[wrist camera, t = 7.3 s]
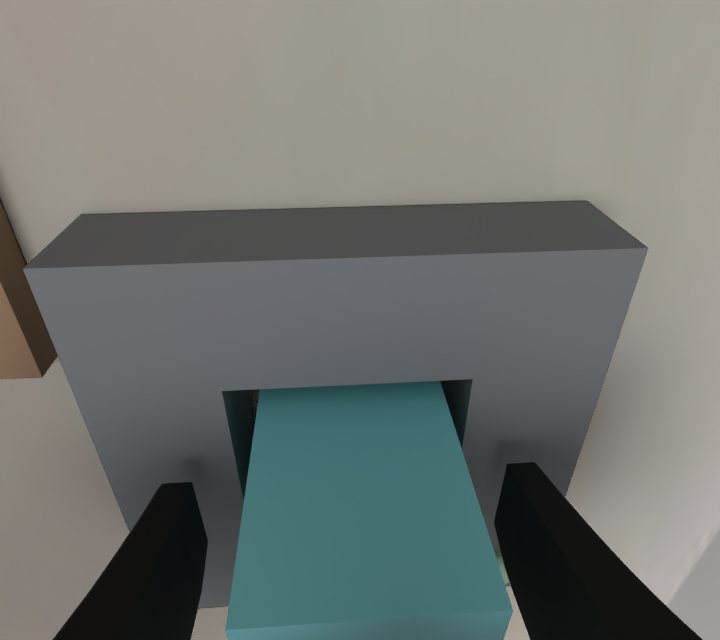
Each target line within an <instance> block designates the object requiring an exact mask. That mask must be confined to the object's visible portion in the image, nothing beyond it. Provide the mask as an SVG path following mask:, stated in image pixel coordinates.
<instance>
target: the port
mask: <svg viewBox="0 0 720 640" xmlns="http://www.w3.org/2000/svg"><path fill="white" fill-rule="evenodd" d="M647 250H648V247H646V246H645V245H644V244H642V243H641V242H640V241H639V240H637V239H636V238H635V237H633V236H632V235H631V234H629V233H628V232H627V231H626V230H624V229H623V228H622V227H620V226H619V225H618V224H616V223H615V222H614V221H613V220H611V219H610V218H609V217H607V216H606V215H605V214H603V213H602V212H601V211H600V210H598V209H597V208H596V207H594V206H593V205H592V204H591V203H589V202H588V201H563V202H526V203H490V204H453V205H416V206H380V207H343V208H307V209H270V210H233V211H197V212H160V213H124V214H87V215H80V216H79V217H77V218H76V219H75V220H74V221H73V222H72V223H71V224H70V225H69V226H68V227H67V228H66V229H65V230H64V231H63V232H61V233H60V234H59V235H58V236H57V237H56V238H55V239H54V240H53V241H52V242H51V243H50V244H49V245H48V246H47V247H45V248H44V249H43V250H42V251H41V252H40V253H39V254H38V255H37V256H36V257H35V258H34V259H33V260H32V261H31V262H29V263H28V264H27V265H26V266H25V267H24V268H23V271H24V273H25V276H26V278H27V281H28V283H29V285H30V288H31V290H32V293H33V295H34V298H35V300H36V303H37V305H38V308H39V310H40V313H41V315H42V317H43V320H44V322H45V325H46V327H47V330H48V332H49V335H50V337H51V340H52V342H53V345H54V347H55V349H56V352H57V354H58V357H59V359H60V362H61V364H62V367H63V369H64V372H65V374H66V376H67V379H68V381H69V384H70V386H71V389H72V391H73V394H74V396H75V399H76V401H77V404H78V406H79V408H80V411H81V413H82V416H83V418H84V421H85V423H86V426H87V428H88V431H89V433H90V436H91V438H92V440H93V443H94V445H95V448H96V450H97V453H98V455H99V458H100V460H101V463H102V465H103V468H104V470H105V472H106V475H107V477H108V480H109V482H110V485H111V487H112V490H113V492H114V495H115V497H116V500H117V502H118V504H119V507H120V509H121V512H122V514H123V517H124V519H125V522H126V524H127V527H128V529H129V531H130V532H131V530H132V529H133V527H134V526H135V524H136V523H137V521H138V519H139V518H140V516H141V515H142V513H143V512H144V510H145V508H146V507H147V505H148V504H149V502H150V500H151V499H152V497H153V496H154V494H155V492H156V491H157V489H158V487H160V486H161V485H162V484H164V483H181V482H192V484H193V487H194V491H195V495H196V498H197V502H198V506H199V509H200V513H201V517H202V520H203V524H204V528H205V531H206V535H207V539H208V546H207V554H206V563H205V571H204V578H203V585H202V592H201V596H200V601H199V605H198V609H199V608H213V607H227V606H229V602H230V595H231V588H232V581H233V574H234V567H235V560H236V553H237V546H238V539H239V532H240V525H241V518H242V511H243V504H244V497H245V490H246V483H247V476H248V469H249V462H250V455H251V448H252V441H253V434H254V422H253V416H252V410H251V403H250V397H249V391H248V390H256V389H277V388H298V387H318V386H339V385H360V384H381V383H402V382H423V381H440V382H441V385H442V389H443V392H444V395H445V398H446V401H447V404H448V407H449V411H450V414H451V417H452V420H453V423H454V426H455V430H456V433H457V436H458V439H459V442H460V445H461V448H462V452H463V455H464V458H465V461H466V464H467V467H468V471H469V474H470V477H471V480H472V483H473V486H474V489H475V493H476V496H477V499H478V502H479V505H480V508H481V512H482V515H483V518H484V521H485V524H486V527H487V530H488V534H489V537H490V540H491V543H492V546H493V549H494V552H495V556H496V559H497V562H498V565H499V568H500V571H501V575H502V578H503V581H504V584H505V586H511V584H510V582H509V579H508V576H507V573H506V570H505V566H504V562H503V558H502V555H501V551H500V547H499V542H498V538H497V534H496V529H495V525H494V519H495V515H496V510H497V506H498V502H499V497H500V493H501V488H502V484H503V480H504V475H505V471H506V466H507V464H510V463H527V462H535V463H536V464H537V465H538V466H539V467H540V468H541V470H542V471H543V472H544V473H545V474H546V476H547V477H548V478H549V479H550V480H551V482H552V483H553V484H554V485H555V486H556V488H557V489H558V490H559V491H560V492H561V494H562V495H563V496H564V497H565V496H566V493H567V490H568V487H569V484H570V481H571V478H572V475H573V472H574V469H575V466H576V463H577V460H578V457H579V454H580V451H581V448H582V445H583V442H584V439H585V436H586V433H587V430H588V427H589V424H590V421H591V418H592V415H593V412H594V409H595V406H596V403H597V400H598V397H599V394H600V391H601V388H602V385H603V382H604V379H605V376H606V373H607V370H608V367H609V364H610V361H611V358H612V355H613V352H614V349H615V346H616V343H617V340H618V337H619V334H620V331H621V328H622V325H623V322H624V319H625V316H626V313H627V310H628V307H629V304H630V301H631V298H632V295H633V292H634V289H635V286H636V283H637V280H638V277H639V274H640V271H641V268H642V265H643V262H644V259H645V256H646V253H647Z"/></svg>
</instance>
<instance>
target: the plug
mask: <svg viewBox="0 0 720 640" xmlns="http://www.w3.org/2000/svg"><path fill="white" fill-rule="evenodd" d="M512 612H513V609H512V606H511V603H510V600H509V597H508V593H507V590H506V587H505V584H504V581H503V578H502V575H501V571H500V568H499V565H498V562H497V559H496V556H495V552H494V549H493V546H492V543H491V540H490V537H489V534H488V530H487V527H486V524H485V521H484V518H483V515H482V512H481V508H480V505H479V502H478V499H477V496H476V493H475V489H474V486H473V483H472V480H471V477H470V474H469V471H468V467H467V464H466V461H465V458H464V455H463V452H462V448H461V445H460V442H459V439H458V436H457V433H456V430H455V426H454V423H453V420H452V417H451V414H450V411H449V407H448V404H447V401H446V398H445V395H444V392H443V389H442V385H441V382H440V381H423V382H402V383H381V384H360V385H339V386H318V387H298V388H277V389H260V392H259V399H258V406H257V413H256V420H255V427H254V434H253V441H252V448H251V455H250V462H249V469H248V476H247V483H246V490H245V497H244V504H243V511H242V518H241V525H240V532H239V539H238V546H237V553H236V560H235V567H234V574H233V581H232V588H231V595H230V602H229V609H228V616H227V623H226V634H227V638H228V640H503V639H504V636H505V633H506V630H507V627H508V624H509V621H510V618H511V615H512Z"/></svg>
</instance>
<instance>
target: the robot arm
mask: <svg viewBox="0 0 720 640" xmlns="http://www.w3.org/2000/svg"><path fill="white" fill-rule="evenodd" d="M494 525H495V529H496V534H497V538H498V542H499V547H500V551H501V555H502V558H503V562H504V566H505V570H506V573H507V576H508V579H509V582H510V584H511V587H512V590H513V593H514V596H515V598H516V601H517V604H518V607H519V609H520V612H521V615H522V618H523V620H524V623H525V626H526V629H527V631H528V634H529V637H530V640H702V639H701V638H700V637H699V636H698V635H697V634H696V633H695V632H694V631H692V630H691V629H690V628H689V627H688V626H687V625H686V624H685V623H683V621H681V620H680V619H679V618H678V617H677V616H676V615H675V614H674V613H673V612H672V611H671V610H670V609H669V608H668V607H667V606H666V605H665V604H664V603H663V602H662V601H661V600H659V599H658V598H657V597H656V596H655V595H654V594H653V593H652V592H651V591H650V590H649V589H648V588H647V587H646V586H645V585H644V584H643V583H642V582H641V581H640V580H639V579H638V578H637V577H636V576H635V574H634V573H633V572H632V571H631V570H630V569H629V568H628V567H627V566H626V565H625V564H624V563H623V562H622V561H621V560H620V559H619V558H618V557H617V556H616V554H615V553H614V552H613V551H612V550H611V549H610V548H609V547H608V546H607V545H606V544H605V542H604V541H603V540H602V539H601V538H600V537H599V536H598V535H597V534H596V533H595V532H594V530H593V529H592V528H591V527H590V526H589V525H588V524H587V523H586V521H585V520H584V519H583V518H582V517H581V516H580V515H579V513H578V512H577V511H576V510H575V509H574V508H573V506H572V505H571V504H570V503H569V502H568V501H567V499H566V498H565V497H564V496H563V495H562V494H561V492H560V491H559V490H558V489H557V488H556V486H555V485H554V484H553V483H552V482H551V480H550V479H549V478H548V477H547V476H546V474H545V473H544V472H543V471H542V470H541V468H540V467H539V466H538V465H537V464H536V463H535V462H527V463H510V464H507V466H506V471H505V475H504V480H503V484H502V488H501V493H500V497H499V502H498V506H497V510H496V515H495V519H494ZM207 546H208V539H207V535H206V531H205V528H204V524H203V520H202V517H201V513H200V509H199V506H198V502H197V498H196V495H195V491H194V487H193V484H192V482H181V483H164V484H162V485H161V486H160V487H158V489H157V491H156V492H155V494H154V496H153V497H152V499H151V500H150V502H149V504H148V505H147V507H146V508H145V510H144V512H143V513H142V515H141V516H140V518H139V519H138V521H137V523H136V524H135V526H134V527H133V529H132V530H131V532H130V533H129V535H128V536H127V538H126V539H125V541H124V542H123V544H122V545H121V547H120V548H119V550H118V551H117V553H116V554H115V556H114V557H113V558H112V560H111V561H110V563H109V564H108V566H107V567H106V568H105V570H104V571H103V573H102V574H101V576H100V577H99V579H98V580H97V581H96V583H95V584H94V586H93V587H92V588H91V590H90V591H89V593H88V594H87V595H86V597H85V598H84V599H83V601H82V602H81V603H80V605H79V606H78V607H77V608H76V610H75V611H74V612H73V614H72V615H71V616H70V618H69V619H68V620H67V622H66V623H65V624H64V626H63V627H62V628H61V629H60V631H59V632H58V633H57V635H56V636H55V637H54V639H53V640H190V639H191V635H192V631H193V627H194V622H195V618H196V614H197V609H198V605H199V601H200V596H201V592H202V585H203V578H204V571H205V563H206V554H207Z"/></svg>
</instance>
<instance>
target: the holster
mask: <svg viewBox="0 0 720 640" xmlns="http://www.w3.org/2000/svg"><path fill="white" fill-rule="evenodd" d="M25 266H26V264H25V261H24V259H23V256H22V254H21V251H20V249H19V246H18V244H17V241H16V239H15V236H14V234H13V231H12V229H11V226H10V224H9V221H8V219H7V216H6V214H5V211H4V209H3V206H2V204H1V201H0V379H16V378H39V377H43V376H44V374H45V373H46V371H47V370H48V369H49V367H50V366H51V364H52V363H53V362H54V360H55V359H56V357H57V356H58V354H57V352H56V349H55V347H54V345H53V342H52V340H51V337H50V335H49V332H48V330H47V327H46V325H45V322H44V320H43V317H42V315H41V313H40V310H39V308H38V305H37V303H36V300H35V298H34V295H33V293H32V290H31V288H30V285H29V283H28V281H27V278H26V276H25V273H24V271H23V268H24V267H25Z"/></svg>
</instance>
